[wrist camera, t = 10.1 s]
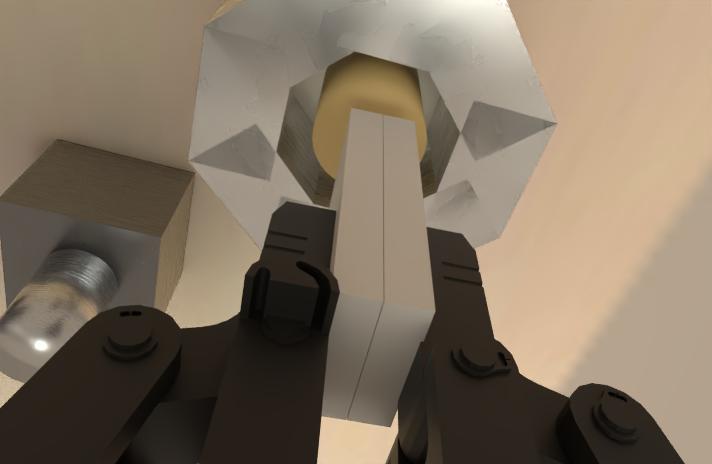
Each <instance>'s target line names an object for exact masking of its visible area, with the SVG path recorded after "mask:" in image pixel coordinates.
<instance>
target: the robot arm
mask: <svg viewBox="0 0 712 464" xmlns="http://www.w3.org/2000/svg"><path fill="white" fill-rule="evenodd" d="M397 409H398V434H397V436H396V439H395V441H394V444H393V446H392V449H391V451H390V454H389V456H388V459H387V461H386V464H685V463H684V462H683V461H682V459H681V458H680V456H679V455H678V453H677V452H676V450H675V449H674V447H673V446H672V445H671V443H670V442H669V440H668V439H667V437H666V436H665V435H664V433H663V432H662V430H661V429H660V427H659V426H658V425H657V423H656V422H655V420H654V419H653V417H652V416H651V415H650V414H649V413H648V412H647V411H646V410H645V408H644V407H643V406H642V405H641V404H640V403H638V402H637V401H635V400H634V399H632V398H631V397H630V396H629V395H627V394H626V393H624V392H622V391H619V390H617V389H615V388H612V387H610V386H608V385H601V384H594V383H591V384H587V385H582V386H579V387H578V388H577V389H576V390H575V391H574V392H573V393H572V395H571V396H570V398H569V397H566V396H564V395H561V394H559V393H557V392H555V391H553V390H550V389H548V388H546V387H543V386H541V385H539V384H537V383H535V382H533V381H531V380H529V379H527V378H525V377H524V376H523V375H521V374H520V373H519V370H518V367H517V364H516V362H515V360H514V358H513V356H512V354H511V353H510V352H509V351H508V350H507V349H506V348H505V347H504V346H503V345H502V344H501V343H500V342H499V341H497V340H495V339H494V335H493V330H492V325H491V321H490V316H489V311H488V307H487V302H486V298H485V293H484V288H483V287H482V279H481V274H480V272H479V265H478V261H477V256H476V251H475V250H474V249H473V247H472V246H471V245H470V243H469V242H468V241H467V239H466V238H465V237H464V235H463V234H461V233H456V232H451V231H446V230H440V229H435V228H430V227H426V219H425V210H424V201H423V192H422V183H421V173H420V164H419V155H418V146H417V137H416V128H415V121H411V120H407V119H402V118H397V117H392V116H388V115H383V114H378V113H374V112H369V111H364V110H359V109H355V108H351V111H350V115H349V120H348V124H347V129H346V133H345V138H344V142H343V147H342V152H341V156H340V161H339V165H338V170H337V174H336V179H335V183H334V188H333V193H332V197H331V202H330V207H329V209H324V208H319V207H314V206H309V205H304V204H299V203H294V202H289V201H286V202H285V203H284V204H283V205H282V206H281V207H279V208H278V209H277V210H276V211H275V212H274V213H272V216H271V220H270V224H269V227H268V231H267V235H266V238H265V242H264V246H263V249H262V253H261V256H260V260H259V261H257V262H255V263H254V264H252V265H251V267H250V268H249V270H248V272H247V273H246V275H245V280H244V288H243V295H242V303H241V310H240V312H239V313H238V314H237V315H235V316H234V317H232V318H231V319H229V320H227V321H224V322H222V323H219V324H216V325H211V326H205V327H196V328H182V329H180V327H179V326H178V325H177V323H176V322H175V321H174V319H173V318H172V317H171V316H169V315H168V314H166V313H164V312H162V311H161V310H159V309H157V308H152V307H147V306H142V305H128V306H118V307H115V308H112V309H109V310H106V311H103V312H100V313H99V314H97V315H96V316H95V317H93V318H92V319H90V320H89V321H87V322H86V323H85V324H84V325H83V326H82V327H81V328H80V329H79V330H78V331H77V332H76V333H75V334H74V335H73V336H72V337H71V338H70V339H69V340H68V341H67V342H66V343H65V344H64V345H63V346H62V347H61V348H60V349H59V350H58V351H57V352H56V353H55V354H54V355H53V356H52V357H51V358H50V359H49V360H48V361H47V362H46V363H45V364H44V365H43V366H42V367H41V368H40V369H39V370H38V371H37V372H36V373H35V374H34V375H33V376H32V377H31V378H30V379H29V380H28V381H27V382H26V383H25V384H24V385H23V386H22V387H21V388H20V389H19V390H18V391H17V392H16V393H15V394H14V395H13V396H12V397H11V398H10V399H9V400H8V401H7V402H6V403H5V404H4V405H3V406H2V407H1V408H0V464H317V457H318V447H319V436H320V426H321V416H325V417H331V418H337V419H343V420H346V419H347V420H349V421H355V422H362V423H368V424H374V425H380V426H386V427H391V424H392V422H393V419H394V417H395V414H396V412H397Z"/></svg>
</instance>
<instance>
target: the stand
mask: <svg viewBox="0 0 712 464" xmlns="http://www.w3.org/2000/svg"><path fill="white" fill-rule="evenodd" d="M194 176H195V173H191V172H187V171H183V170H179V169H175V168H171V167H167V166H163V165H159V164H155V163H151V162H147V161H143V160H139V159H135V158H130V157H126V156H122V155H118V154H114V153H110V152H106V151H102V150H98V149H94V148H90V147H86V146H82V145H78V144H74V143H69V142H65V141H61V140H57V141H56V142H55V143H54V144H53V145H52V146H51V147H50V148H49V149H48V150H47V151H46V152H45V153H43V154H42V155H41V156H40V157H39V158H38V159H37V160H36V161H35V162H34V163H33V164H32V165H31V166H30V167H29V168H28V169H27V170H26V171H25V172H24V173H23V174H22V175H21V176H20V177H19V178H18V179H17V180H16V181H15V182H14V183H13V184H12V185H11V186H10V187H9V188H8V189H7V190H6V191H5V192H4V193H3V194H2V195H1V196H0V239H1V250H2V261H3V272H4V283H5V294H6V305H7V310H6V311H5V312H4V314H3V315H2V316H1V318H0V371H1V372H2V373H4V374H5V375H7V376H9V377H11V378H13V379H15V380H17V381H20V382H23V383H26V382H27V381H28V380H29V379H30V378H31V377H32V376H33V375H34V374H35V373H36V372H37V371H38V370H39V369H40V368H41V367H42V366H43V365H44V364H45V363H46V362H47V361H48V360H49V359H50V358H51V357H52V356H53V355H54V354H55V353H56V352H57V351H58V350H59V349H60V348H61V347H62V346H63V345H64V344H65V343H66V342H67V341H68V340H69V339H70V338H71V337H72V336H73V335H74V334H75V333H76V332H77V331H78V330H79V329H80V328H81V327H82V326H83V325H84V324H85V323H86V322H87V321H89V320H90V319H92V318H93V317H95V316H96V315H97V314H99V313H100V312H103V311H106V310H109V309H112V308H115V307H118V306H128V305H142V306H147V307H152V308H157V309H159V310H161V311H162V312H164V313H165V311H166V308H167V306H168V304H169V301H170V299H171V297H172V295H173V292H174V290H175V288H176V285H177V283H178V281H179V279H180V276H181V274H182V267H183V260H184V252H185V244H186V237H187V229H188V222H189V214H190V206H191V199H192V191H193V184H194Z"/></svg>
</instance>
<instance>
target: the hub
mask: <svg viewBox="0 0 712 464" xmlns="http://www.w3.org/2000/svg"><path fill="white" fill-rule="evenodd" d="M294 95H295V97H296V98H297V100H298V101H299V103H300V104H301V106H302V108H303V109H304V111H305V112H306V114H307V115H308V117H309V118H310V120H311V121H312V123H313V124H314V127H313V133H312V142H313V148H314V152H315V155H316V157H317V159H318V161H319V163H320V165H321V166H322V167H323V169H324V170H325V171H326V172H327V173H328V174H329V175H330V176H331V177H333V178H334V179H336V174H337V170H338V165H339V161H340V156H341V152H342V147H343V142H344V138H345V133H346V129H347V124H348V120H349V115H350V111H351V108H355V109H359V110H364V111H369V112H374V113H378V114H383V115H388V116H392V117H397V118H402V119H407V120H411V121H415V128H416V137H417V146H418V155H419V164H420V162H421V160H422V158H423V156H424V153H425V150H426V144H427V132H426V131H427V129H428V126H429V124H430V121H431V118H432V116H433V113H434V110H435V107H436V105H437V102H438V99H439V97H440V92H439V91H438V89H437V87H436V85H435V83H434V81H433V79H432V77H431V75H430V73H429V72H428V71H424V70H420V69H417V68H413V67H410V66H406V65H403V64H399V63H395V62H392V61H388V60H385V59H381V58H378V57H374V56H370V55H367V54H363V53H360V52H356V51H354V52H353V53H351V54H349V55H347V56H346V57H344V58H342V59H340V60H338V61H337V62H335V63H333V64H331V65H329V66H328V67H326V68H324V69H322V70H321V71H319V72H317V73H315V74H313V75H312V76H310V77H308V78H306V79H304V80H303V81H301V82H299V83H297V84H296V88H295V93H294Z"/></svg>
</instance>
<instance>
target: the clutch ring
mask: <svg viewBox="0 0 712 464" xmlns="http://www.w3.org/2000/svg"><path fill="white" fill-rule="evenodd" d="M354 51H356V52H360V53H363V54H367V55H370V56H374V57H378V58H381V59H385V60H388V61H392V62H395V63H399V64H403V65H406V66H410V67H413V68H417V69H420V70H424V71H428V72H429V73H430V75H431V77H432V79H433V81H434V83H435V85H436V87H437V89H438V91H439V92H440V97H439V99H438V102H437V105H436V107H435V110H434V113H433V116H432V118H431V121H430V124H429V126H428V129H427V131H426V132H427V144H426V150H425V153H424V156H423V158H422V160H421V162H420V173H421V183H422V192H423V201H424V210H425V219H426V227H430V228H435V229H440V230H446V231H451V232H456V233H461V234H463V235H464V237H465V238H466V239H467V241H468V242H469V243H470V245H471V246H472V247H473V249H474V248H476V247H479V246H481V245H484V244H486V243H489V242H491V241H493V240H496V239H498V238H500V236H501V234H502V232H503V230H504V228H505V226H506V224H507V222H508V220H509V218H510V216H511V214H512V212H513V210H514V208H515V206H516V204H517V202H518V200H519V198H520V196H521V194H522V192H523V190H524V188H525V186H526V184H527V182H528V180H529V178H530V176H531V174H532V172H533V170H534V168H535V166H536V164H537V162H538V160H539V159H540V157H541V155H542V153H543V151H544V149H545V147H546V145H547V143H548V141H549V139H550V137H551V135H552V133H553V131H554V129H555V127H556V125H557V122H556V119H555V117H554V115H553V112H552V110H551V107H550V105H549V103H548V100H547V98H546V95H545V93H544V90H543V88H542V86H541V83H540V81H539V78H538V76H537V74H536V71H535V69H534V66H533V64H532V61H531V59H530V57H529V54H528V52H527V49H526V47H525V45H524V42H523V40H522V37H521V35H520V32H519V30H518V28H517V25H516V23H515V20H514V18H513V16H512V13H511V11H510V8H509V6H508V3H507V1H506V0H226V1H225V2H224V3H223V5H222V6H221V7H220V8H219V9H218V10H217V12H216V13H215V14H214V15H213V16H212V18H211V19H210V20H209V21H208V22H207V24H206V25H205V27H204V36H203V44H202V52H201V60H200V68H199V77H198V85H197V93H196V101H195V109H194V117H193V126H192V134H191V142H190V150H189V158H188V161H189V162H190V164H191V165H192V166H193V167H194V169H195V170H196V171H197V172H198V174H199V175H200V176H201V177H202V179H203V180H204V181H205V182H206V183H207V185H208V186H209V187H210V188H211V190H212V191H213V192H214V193H215V195H216V196H217V197H218V198H219V199H220V201H221V202H222V203H223V204H224V206H225V207H226V208H227V209H228V211H229V212H230V213H231V214H232V215H233V217H234V218H235V219H236V220H237V222H238V223H239V224H240V225H241V227H242V228H243V229H244V230H245V231H246V233H247V234H248V235H249V236H250V238H251V239H252V240H253V241H254V243H255V244H256V245H257V246H258V247H259V249H260V250H261V251H262V249H263V246H264V242H265V238H266V235H267V231H268V227H269V224H270V220H271V216H272V213H274V212H275V211H276V210H277V209H278V208H279V207H281V206H282V205H283V204H284V203H285V202H286V201H289V202H294V203H299V204H304V205H309V206H314V207H319V208H324V209H329V207H330V202H331V197H332V193H333V188H334V183H335V179H334V178H333V177H331V176H330V175H329V174H328V173H327V172H326V171H325V170H324V169H323V167H322V166H321V165H320V163H319V161H318V159H317V157H316V155H315V152H314V148H313V142H312V133H313V127H314V124H313V123H312V121H311V120H310V118H309V117H308V115H307V114H306V112H305V111H304V109H303V108H302V106H301V104H300V103H299V101H298V100H297V98H296V97H295V95H294V93H295V88H296V84H297V83H299V82H301V81H303V80H304V79H306V78H308V77H310V76H312V75H313V74H315V73H317V72H319V71H321V70H322V69H324V68H326V67H328V66H329V65H331V64H333V63H335V62H337V61H338V60H340V59H342V58H344V57H346V56H347V55H349V54H351V53H353V52H354Z"/></svg>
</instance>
